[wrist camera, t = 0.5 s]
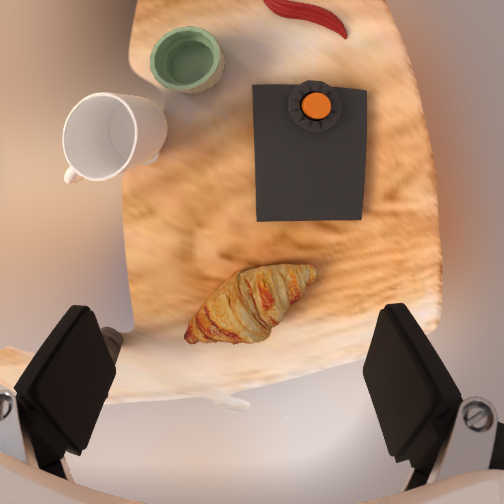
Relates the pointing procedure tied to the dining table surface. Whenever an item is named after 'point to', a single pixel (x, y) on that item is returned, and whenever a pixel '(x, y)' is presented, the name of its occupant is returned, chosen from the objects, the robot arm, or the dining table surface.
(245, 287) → the croissant
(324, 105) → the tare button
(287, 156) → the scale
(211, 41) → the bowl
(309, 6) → the cayenne pepper
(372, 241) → the dining table surface
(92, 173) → the cup
